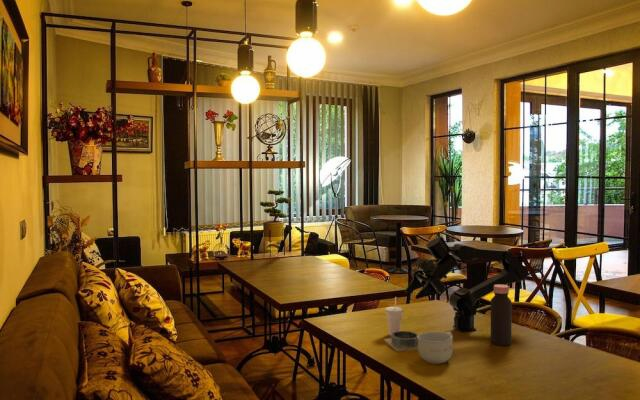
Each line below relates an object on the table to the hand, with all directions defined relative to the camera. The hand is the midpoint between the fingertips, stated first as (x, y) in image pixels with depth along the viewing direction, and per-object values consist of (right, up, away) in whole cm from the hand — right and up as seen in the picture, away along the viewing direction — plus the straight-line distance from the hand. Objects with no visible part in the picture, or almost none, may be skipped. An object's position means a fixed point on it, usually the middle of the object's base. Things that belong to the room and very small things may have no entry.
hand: (410, 294), depth 184 cm
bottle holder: (-4, -15, -11) cm, 19 cm away
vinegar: (+29, -15, -11) cm, 35 cm away
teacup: (+4, -16, -26) cm, 30 cm away
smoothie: (-6, -15, 0) cm, 16 cm away
